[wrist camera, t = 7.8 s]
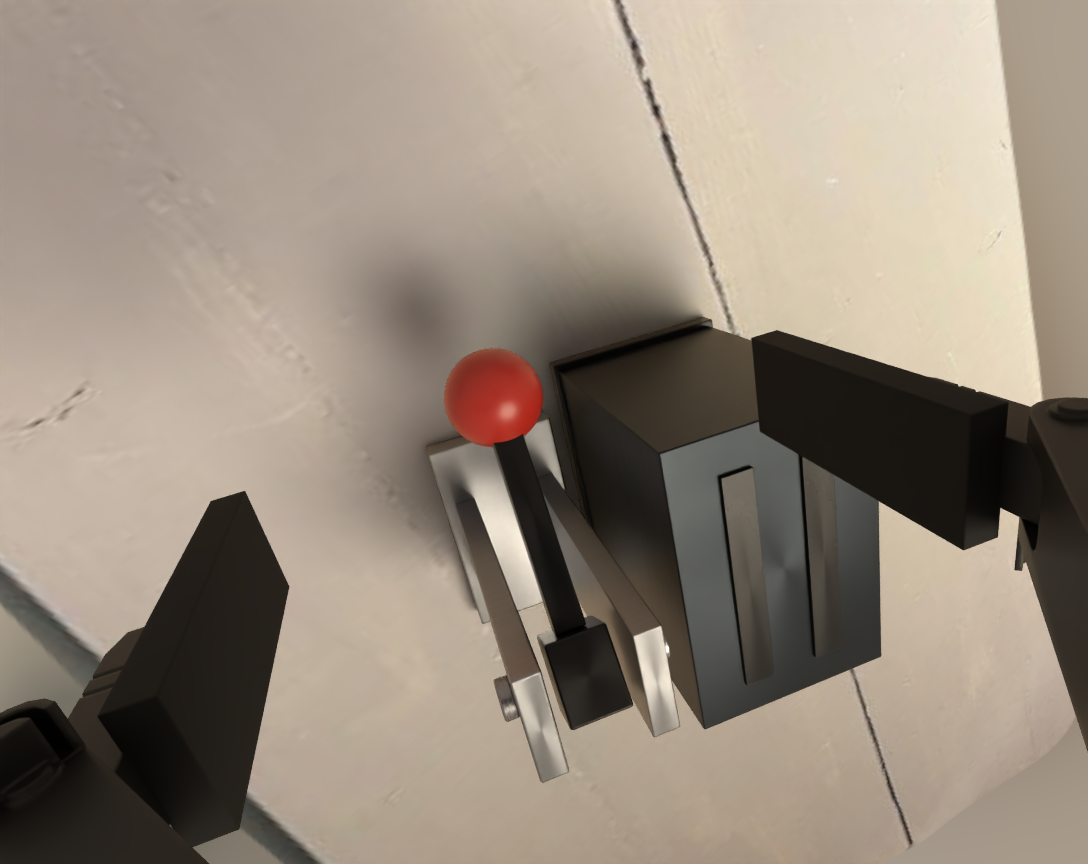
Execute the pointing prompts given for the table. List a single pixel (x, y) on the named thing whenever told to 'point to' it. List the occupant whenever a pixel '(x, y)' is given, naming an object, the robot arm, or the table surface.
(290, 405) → the table surface
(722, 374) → the toaster
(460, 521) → the bracket
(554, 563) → the lever
